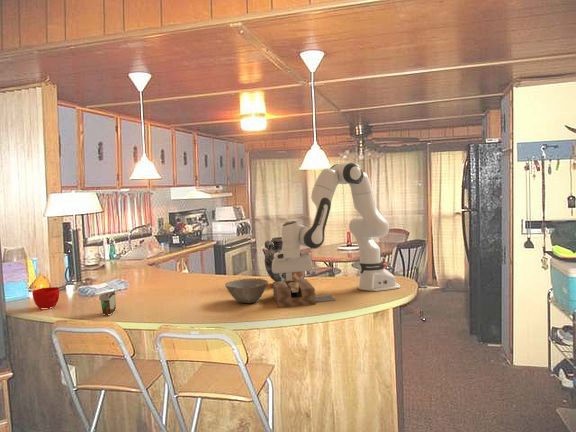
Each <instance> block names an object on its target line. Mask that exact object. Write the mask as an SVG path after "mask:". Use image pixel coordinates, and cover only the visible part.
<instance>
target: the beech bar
mask: <svg viewBox="0 0 576 432" xmlns="http://www.w3.org/2000/svg"><path fill="white" fill-rule="evenodd" d="M288 287H289V289H290V290H291V291H292V290H299V284H298V282H290V283H289V284H288Z"/></svg>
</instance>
